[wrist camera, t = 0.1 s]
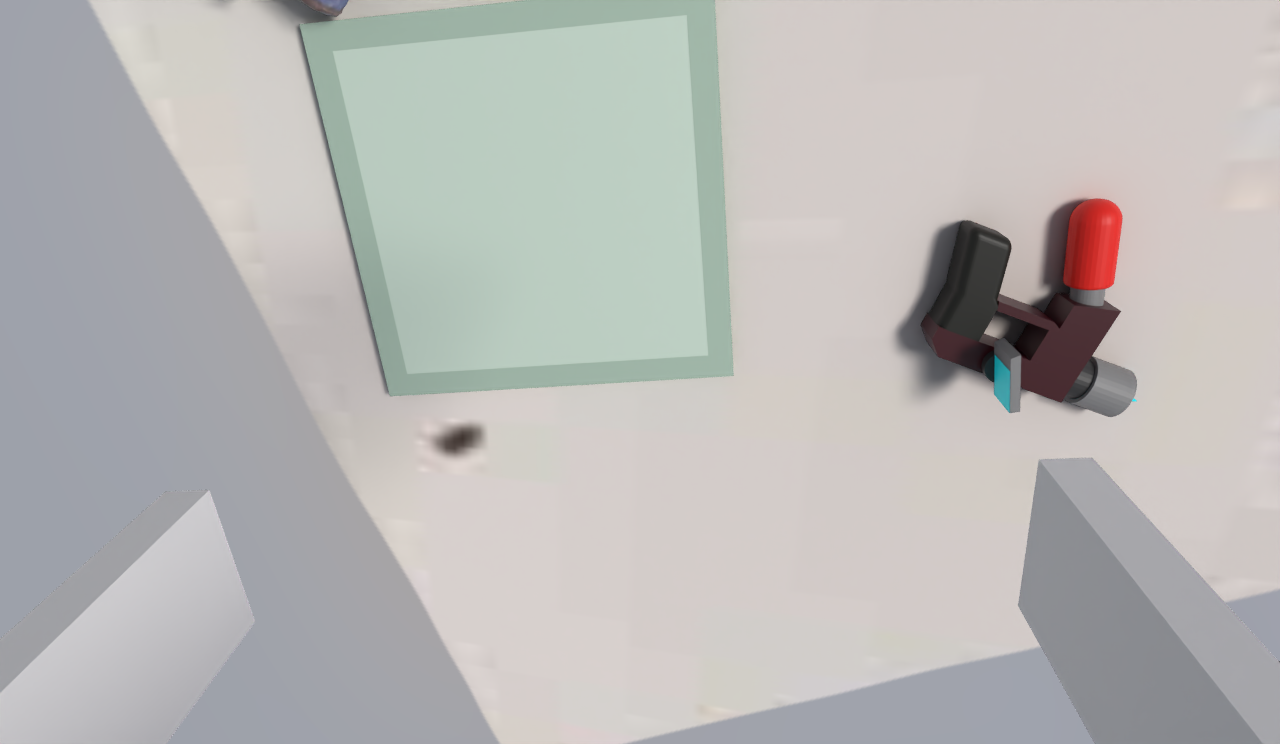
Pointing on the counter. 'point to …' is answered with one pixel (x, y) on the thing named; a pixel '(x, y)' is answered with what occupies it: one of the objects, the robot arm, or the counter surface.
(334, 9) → the blue clover box
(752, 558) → the counter surface
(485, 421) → the counter surface
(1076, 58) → the counter surface
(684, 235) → the mat
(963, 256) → the toy gun
